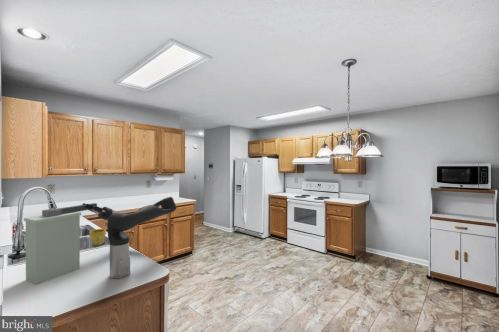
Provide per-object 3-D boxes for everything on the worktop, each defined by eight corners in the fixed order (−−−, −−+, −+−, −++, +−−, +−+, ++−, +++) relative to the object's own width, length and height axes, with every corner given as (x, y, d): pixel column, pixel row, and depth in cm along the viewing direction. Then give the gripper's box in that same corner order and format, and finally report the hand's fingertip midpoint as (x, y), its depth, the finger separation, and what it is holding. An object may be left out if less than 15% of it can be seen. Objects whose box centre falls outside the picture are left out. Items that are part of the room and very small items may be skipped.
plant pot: (87, 246, 169) (87, 233, 169) (92, 242, 179) (92, 229, 179) (103, 245, 172) (103, 232, 172) (107, 241, 182) (107, 228, 182)
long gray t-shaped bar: (92, 207, 149) (92, 202, 149) (98, 208, 146) (98, 203, 146) (42, 215, 125) (42, 210, 125) (48, 217, 123) (48, 211, 123)
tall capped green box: (69, 264, 140) (69, 210, 139) (81, 268, 135) (81, 212, 135) (24, 280, 121) (23, 218, 120) (35, 285, 116) (35, 220, 116)
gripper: (112, 221, 151) (88, 212, 137) (98, 218, 156) (73, 209, 143) (118, 210, 154) (94, 200, 140) (104, 208, 160) (80, 198, 146)
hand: (84, 205), depth 142 cm, fingers closed on long gray t-shaped bar, 3 cm apart
